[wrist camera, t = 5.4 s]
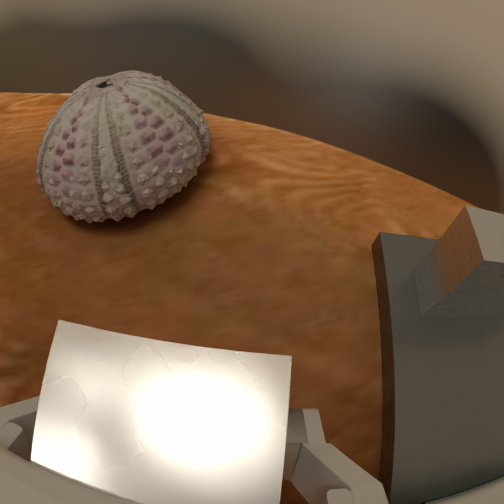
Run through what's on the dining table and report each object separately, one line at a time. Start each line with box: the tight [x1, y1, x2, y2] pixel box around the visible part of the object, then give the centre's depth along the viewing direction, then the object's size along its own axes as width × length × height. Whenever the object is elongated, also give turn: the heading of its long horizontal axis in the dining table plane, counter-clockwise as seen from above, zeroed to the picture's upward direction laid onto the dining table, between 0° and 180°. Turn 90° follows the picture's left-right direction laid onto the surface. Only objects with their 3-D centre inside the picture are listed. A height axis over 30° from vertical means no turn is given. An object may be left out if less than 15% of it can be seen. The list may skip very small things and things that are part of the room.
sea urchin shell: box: [35, 71, 212, 223], centre depth 20 cm, size 13×14×8 cm
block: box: [31, 320, 292, 504], centre depth 9 cm, size 4×5×10 cm
